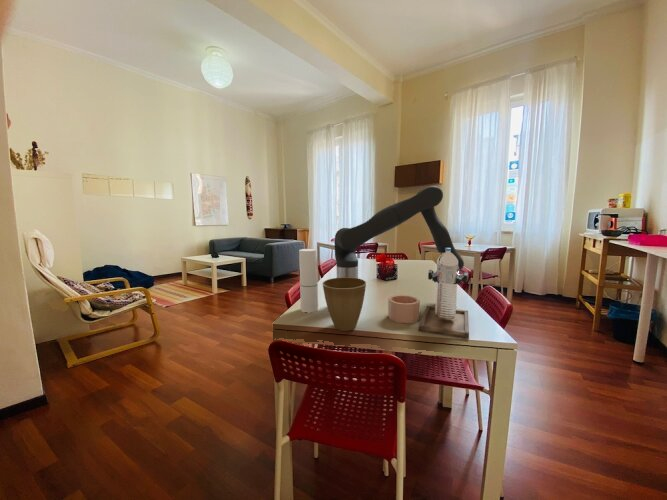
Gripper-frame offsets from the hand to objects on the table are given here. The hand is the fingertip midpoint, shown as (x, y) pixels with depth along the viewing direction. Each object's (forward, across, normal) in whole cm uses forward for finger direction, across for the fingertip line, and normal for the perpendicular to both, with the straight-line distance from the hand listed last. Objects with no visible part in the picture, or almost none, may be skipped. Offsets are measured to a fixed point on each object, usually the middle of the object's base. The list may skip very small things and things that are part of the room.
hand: (446, 280), depth 94 cm
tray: (-2, 0, +16) cm, 16 cm away
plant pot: (+16, -32, +16) cm, 39 cm away
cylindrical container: (+6, -52, +16) cm, 54 cm away
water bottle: (-2, 0, +14) cm, 14 cm away
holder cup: (-1, -14, +16) cm, 22 cm away
